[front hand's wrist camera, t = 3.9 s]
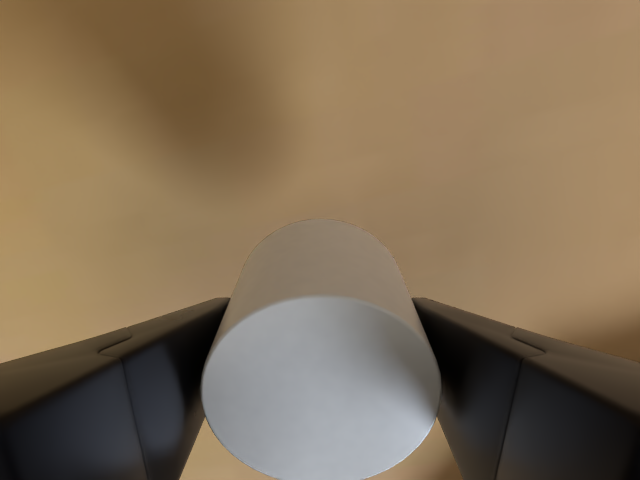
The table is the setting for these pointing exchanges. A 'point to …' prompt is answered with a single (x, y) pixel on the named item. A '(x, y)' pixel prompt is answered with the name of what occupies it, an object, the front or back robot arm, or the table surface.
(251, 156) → the table surface
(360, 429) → the canister
